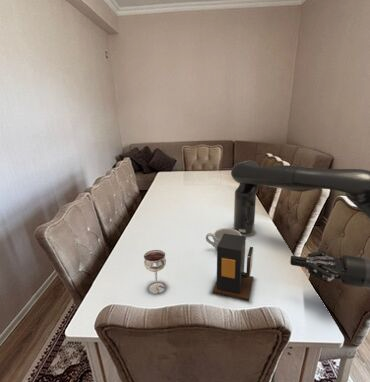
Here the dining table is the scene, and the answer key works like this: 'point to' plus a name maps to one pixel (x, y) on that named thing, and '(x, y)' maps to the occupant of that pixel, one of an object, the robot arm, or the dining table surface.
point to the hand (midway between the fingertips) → (290, 260)
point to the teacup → (220, 235)
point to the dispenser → (232, 268)
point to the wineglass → (155, 267)
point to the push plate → (249, 262)
